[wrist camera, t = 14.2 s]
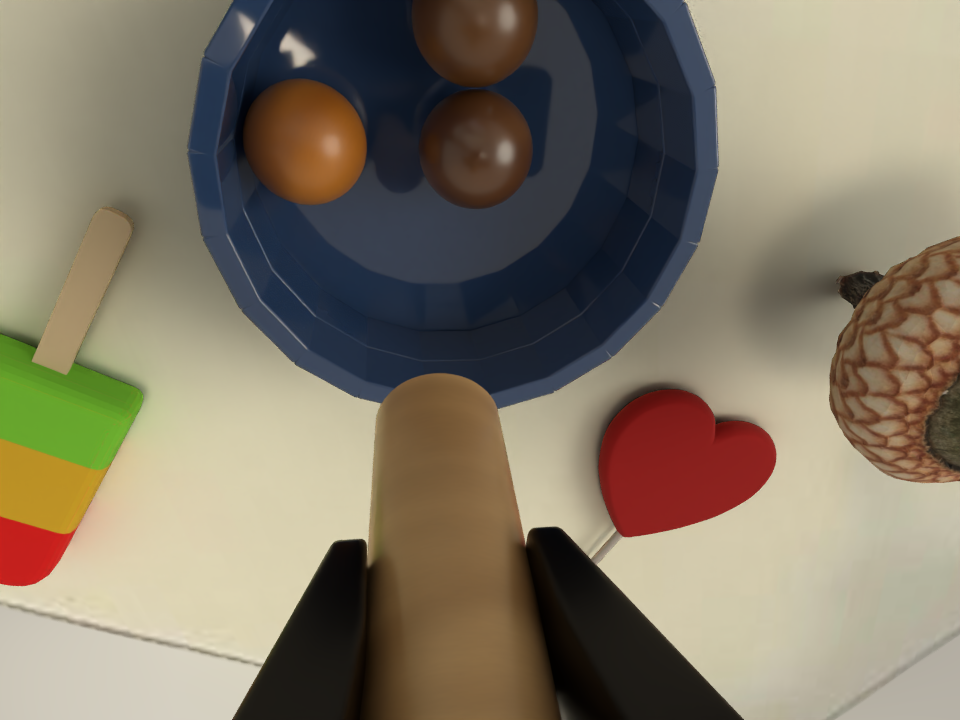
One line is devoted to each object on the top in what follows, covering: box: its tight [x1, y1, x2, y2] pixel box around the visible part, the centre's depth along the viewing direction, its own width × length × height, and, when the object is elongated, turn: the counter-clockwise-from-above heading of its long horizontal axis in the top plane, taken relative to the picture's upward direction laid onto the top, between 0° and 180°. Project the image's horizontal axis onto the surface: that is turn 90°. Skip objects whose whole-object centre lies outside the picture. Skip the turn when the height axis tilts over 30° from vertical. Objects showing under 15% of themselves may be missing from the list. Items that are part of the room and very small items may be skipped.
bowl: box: [187, 0, 719, 409], centre depth 16 cm, size 12×12×4 cm
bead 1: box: [243, 78, 367, 205], centre depth 15 cm, size 3×3×3 cm
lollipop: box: [591, 389, 776, 565], centre depth 27 cm, size 8×1×15 cm
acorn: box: [829, 236, 960, 483], centre depth 18 cm, size 8×8×10 cm
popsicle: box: [0, 207, 143, 586], centre depth 19 cm, size 6×15×2 cm, turn 145°
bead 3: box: [419, 89, 533, 209], centre depth 16 cm, size 3×3×3 cm
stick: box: [360, 373, 562, 720], centre depth 7 cm, size 2×2×9 cm
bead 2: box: [411, 0, 538, 87], centre depth 15 cm, size 3×3×3 cm
